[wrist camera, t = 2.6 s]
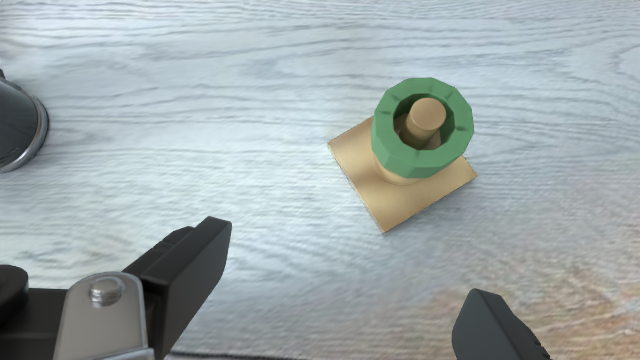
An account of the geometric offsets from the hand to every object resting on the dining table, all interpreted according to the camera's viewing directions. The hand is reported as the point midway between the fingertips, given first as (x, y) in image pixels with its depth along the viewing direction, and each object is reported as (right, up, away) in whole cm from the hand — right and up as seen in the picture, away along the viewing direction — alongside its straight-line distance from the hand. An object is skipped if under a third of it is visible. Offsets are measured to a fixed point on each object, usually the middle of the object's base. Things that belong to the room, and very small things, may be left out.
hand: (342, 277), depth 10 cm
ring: (+6, +6, +14) cm, 16 cm away
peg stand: (+7, +5, +21) cm, 22 cm away
